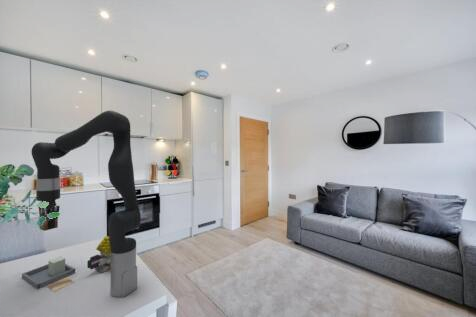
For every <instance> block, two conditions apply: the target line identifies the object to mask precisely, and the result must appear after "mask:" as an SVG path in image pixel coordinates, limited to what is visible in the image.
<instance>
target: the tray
mask: <svg viewBox="0 0 476 317" xmlns="http://www.w3.org/2000/svg"><path fill="white" fill-rule="evenodd" d="M74 274H76V268H74V267H73V266H71V265H69V264H68V263H67V264H66V263H65V272H62V273H60V274H57V275H55V276H52V275H50V274H49V263H48V264H45V265H42V266H39V267H36V268H34V269H31V270H28V271H26V272H23V273H21V279H23V281H25V282H26V283H28V284H29V285H31V286H32V287H33V288H34V289H36V290H41V289H42V288H44V287H46V286H48V285H50V284H52V283H54V282H57V281H59V280H61V279H63V278H66V277H67V278H68V277H69V276H72V275H74Z"/></svg>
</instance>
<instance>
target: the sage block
mask: <svg viewBox="0 0 476 317" xmlns="http://www.w3.org/2000/svg"><path fill="white" fill-rule="evenodd" d="M48 264H49V274H50V275H52V276H55V275H57V274H60V273H62V272H65V264H66V258H64V257H62V256H58V257H55V258H53V259H50V260H48Z"/></svg>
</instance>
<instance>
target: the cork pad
mask: <svg viewBox="0 0 476 317" xmlns="http://www.w3.org/2000/svg"><path fill="white" fill-rule="evenodd" d="M73 283H75V281H74V280H72V279H70V278H69V277H68V276H67V277H65V278H63V279H61V280H58V281H56V282H54V283H52V284H49V285H47V286H45V287H46V288H48V289H49V290H50V291H52V292H53V293H55V292H57V291H59V290H61V289H63V288H65V287H67V286H70V285H72V284H73Z"/></svg>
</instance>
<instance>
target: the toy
mask: <svg viewBox="0 0 476 317" xmlns="http://www.w3.org/2000/svg"><path fill="white" fill-rule="evenodd" d="M96 251H98V252H99V254H95V255H93V256H91V257H89V259H88V260H87V261H86V262H87V265H86V266H87V269H90V270H94V269H95V271H96V272H98V273H101V274H102V273H104V272H106V271H109V270H111V247H110V243H109V235H107V236H104V237H103V239H102V240H101V241H100V242H99V244H98V245H97V246H96Z"/></svg>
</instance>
